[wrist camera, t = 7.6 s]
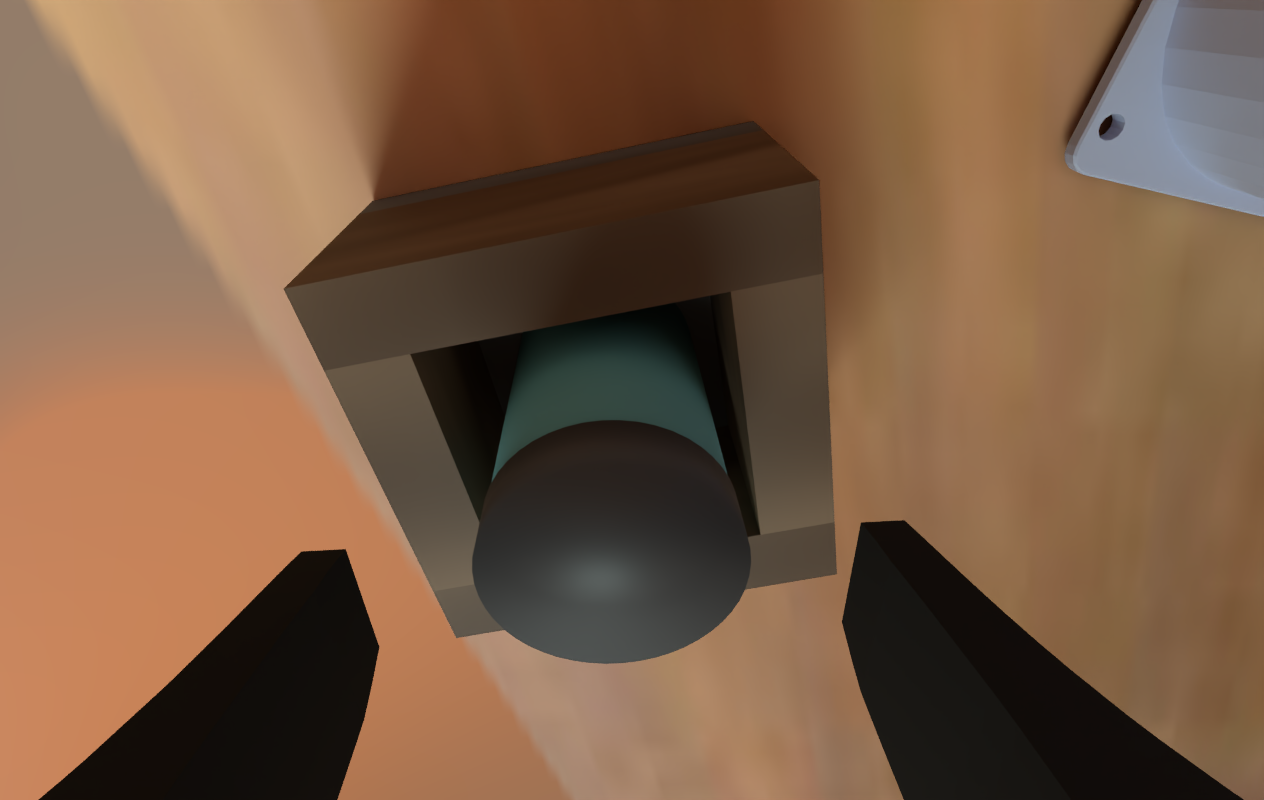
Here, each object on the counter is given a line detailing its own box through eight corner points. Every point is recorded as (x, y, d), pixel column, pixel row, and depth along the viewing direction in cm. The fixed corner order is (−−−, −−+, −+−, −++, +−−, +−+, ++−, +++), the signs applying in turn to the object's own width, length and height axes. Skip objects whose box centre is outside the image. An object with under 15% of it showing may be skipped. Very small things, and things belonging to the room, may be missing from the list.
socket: (372, 201, 15) (283, 288, 11) (753, 121, 14) (819, 179, 10) (487, 492, 19) (456, 637, 15) (782, 439, 19) (836, 573, 15)
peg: (578, 234, 15) (565, 411, 9) (728, 329, 16) (808, 539, 10) (487, 375, 16) (423, 605, 10) (630, 450, 18) (647, 692, 12)
